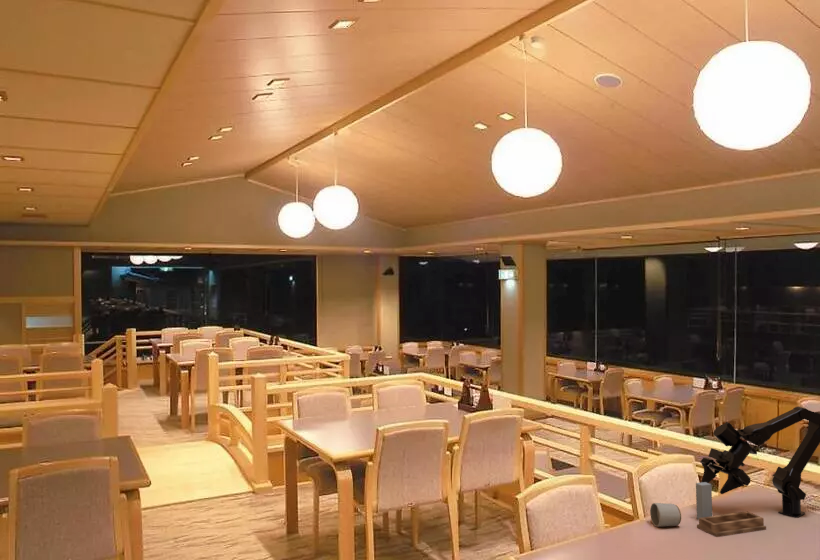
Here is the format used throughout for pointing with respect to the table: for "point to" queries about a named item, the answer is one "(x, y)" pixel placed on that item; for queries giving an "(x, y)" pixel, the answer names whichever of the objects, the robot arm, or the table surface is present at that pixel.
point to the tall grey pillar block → (703, 499)
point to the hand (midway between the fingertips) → (711, 489)
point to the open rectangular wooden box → (731, 524)
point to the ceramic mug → (665, 514)
